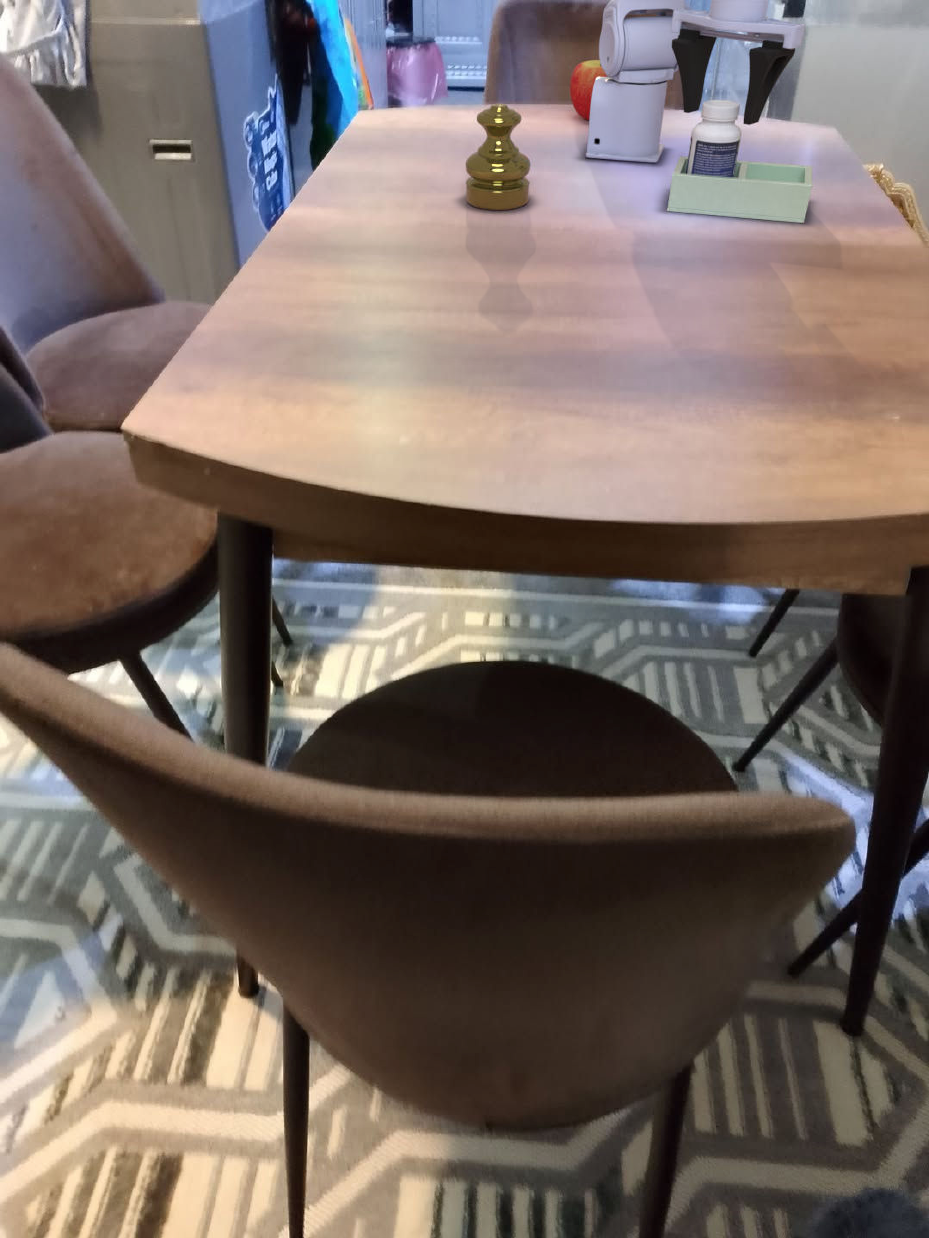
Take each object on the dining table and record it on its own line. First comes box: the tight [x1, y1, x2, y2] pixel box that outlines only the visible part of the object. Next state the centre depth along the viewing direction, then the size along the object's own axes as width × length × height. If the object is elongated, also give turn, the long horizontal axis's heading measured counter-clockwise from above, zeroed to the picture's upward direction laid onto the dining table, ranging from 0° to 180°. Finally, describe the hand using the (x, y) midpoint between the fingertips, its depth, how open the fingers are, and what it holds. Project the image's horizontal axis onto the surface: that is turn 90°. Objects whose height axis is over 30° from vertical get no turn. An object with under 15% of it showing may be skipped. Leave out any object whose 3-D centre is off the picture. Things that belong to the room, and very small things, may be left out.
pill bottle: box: [686, 99, 742, 177], centre depth 102 cm, size 5×5×10 cm
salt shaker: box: [465, 103, 531, 211], centre depth 103 cm, size 7×7×10 cm
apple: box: [569, 59, 607, 121], centre depth 133 cm, size 8×8×10 cm
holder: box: [666, 155, 813, 224], centre depth 104 cm, size 8×15×4 cm, turn 74°
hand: (720, 117), depth 100 cm, fingers open, 7 cm apart
